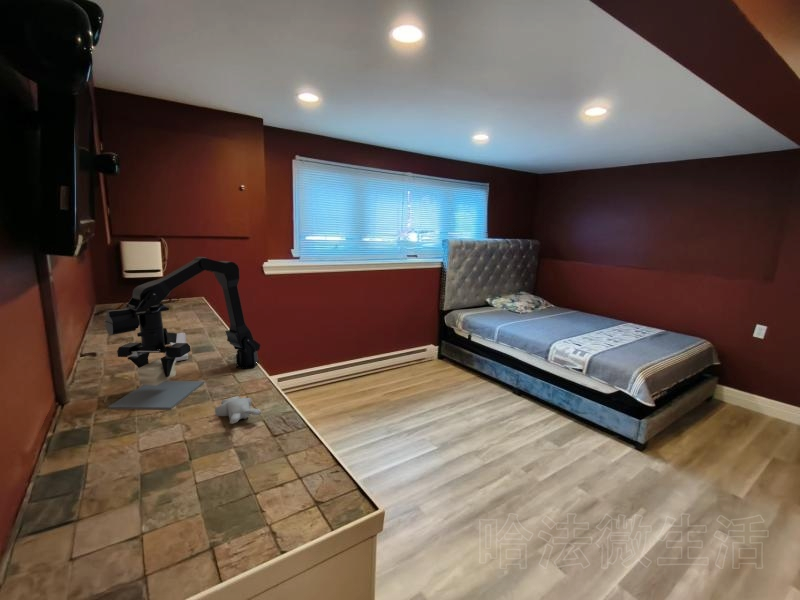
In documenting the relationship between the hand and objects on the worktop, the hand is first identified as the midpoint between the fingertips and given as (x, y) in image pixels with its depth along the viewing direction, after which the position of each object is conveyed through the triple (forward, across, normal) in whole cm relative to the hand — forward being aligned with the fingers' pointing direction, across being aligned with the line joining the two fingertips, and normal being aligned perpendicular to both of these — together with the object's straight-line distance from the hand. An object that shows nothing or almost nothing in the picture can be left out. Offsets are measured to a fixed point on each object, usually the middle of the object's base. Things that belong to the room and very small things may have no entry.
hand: (157, 376), depth 111 cm
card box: (+1, 0, 0) cm, 1 cm away
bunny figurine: (+6, -30, +13) cm, 33 cm away
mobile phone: (+7, +16, -37) cm, 41 cm away
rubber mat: (+6, 0, 0) cm, 6 cm away
